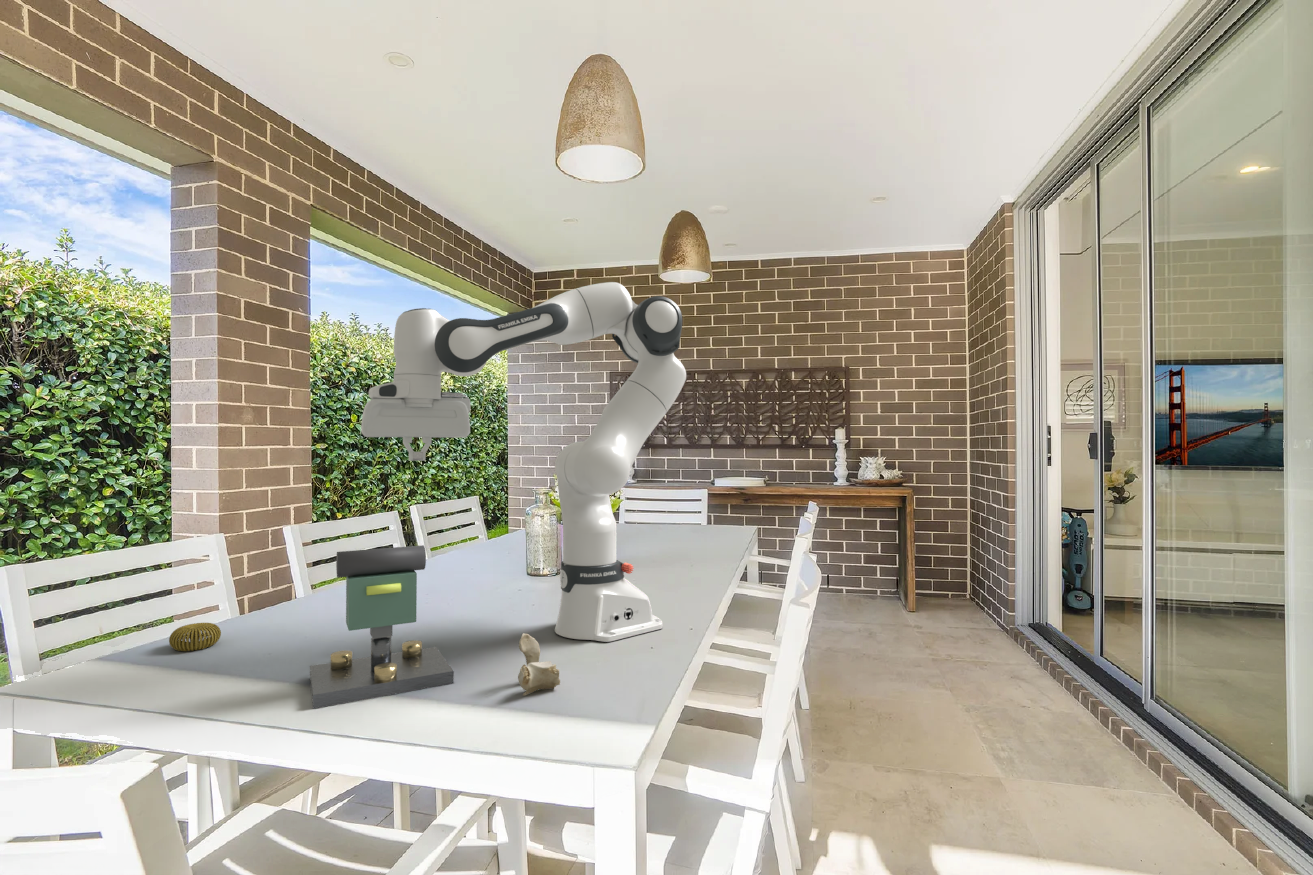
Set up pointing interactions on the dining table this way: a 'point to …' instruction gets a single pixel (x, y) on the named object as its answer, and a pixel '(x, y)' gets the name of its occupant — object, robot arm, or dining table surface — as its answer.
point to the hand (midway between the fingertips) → (417, 460)
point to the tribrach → (378, 673)
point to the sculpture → (194, 636)
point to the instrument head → (380, 587)
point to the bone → (535, 668)
